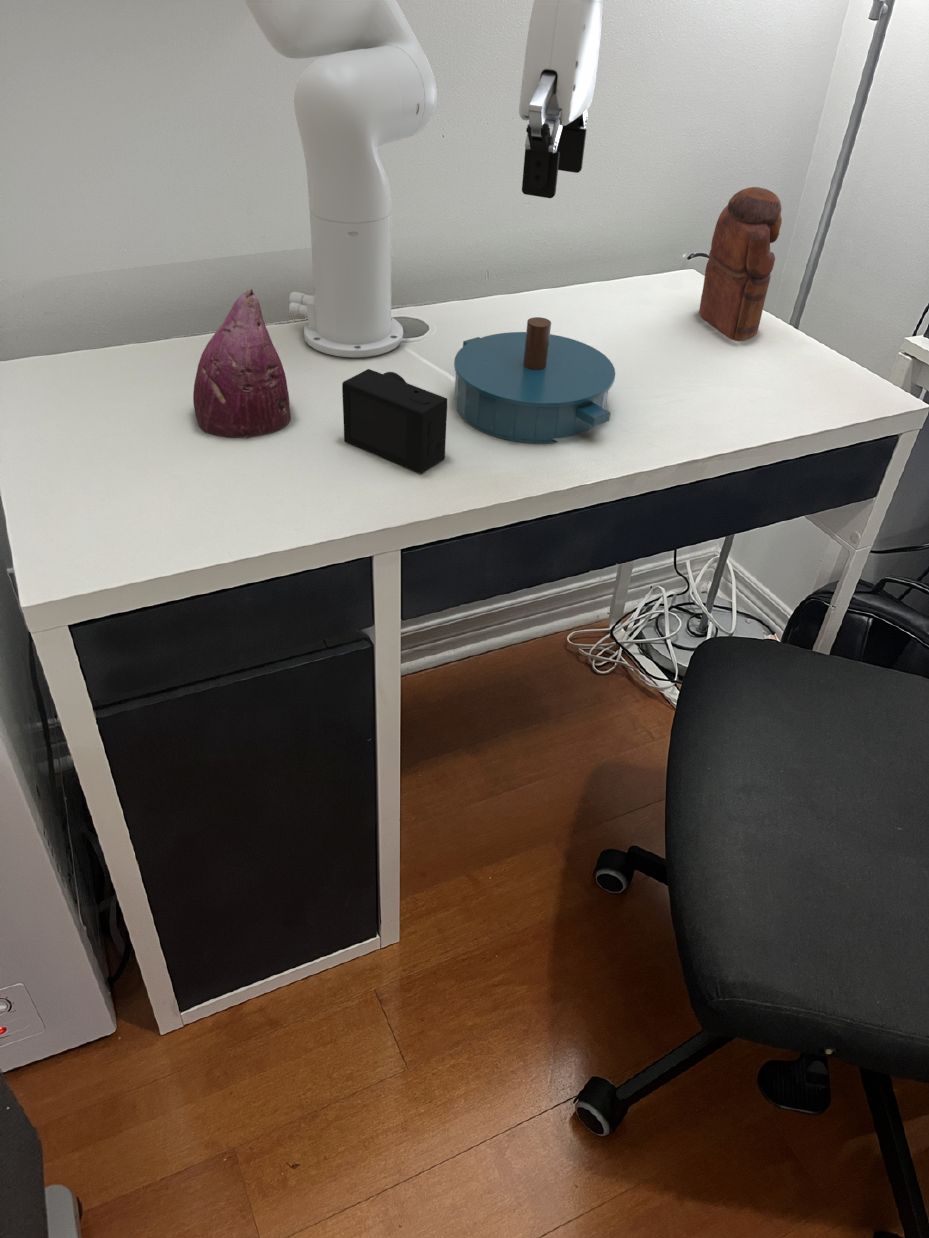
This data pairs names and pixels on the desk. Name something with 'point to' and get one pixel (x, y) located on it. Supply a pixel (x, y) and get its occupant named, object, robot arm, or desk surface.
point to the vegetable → (241, 377)
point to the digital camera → (394, 419)
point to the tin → (526, 416)
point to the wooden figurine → (741, 263)
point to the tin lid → (534, 367)
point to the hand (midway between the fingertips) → (552, 182)
